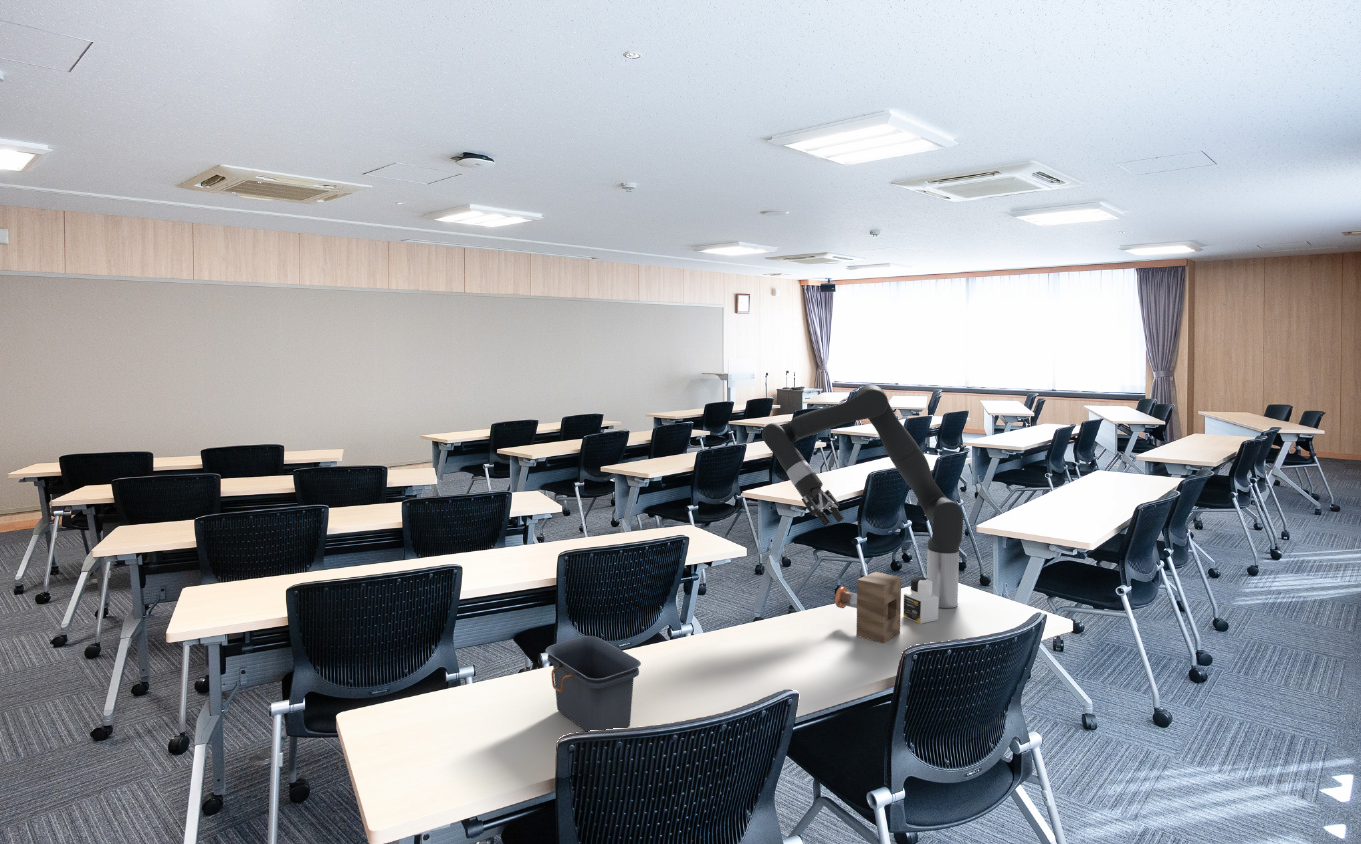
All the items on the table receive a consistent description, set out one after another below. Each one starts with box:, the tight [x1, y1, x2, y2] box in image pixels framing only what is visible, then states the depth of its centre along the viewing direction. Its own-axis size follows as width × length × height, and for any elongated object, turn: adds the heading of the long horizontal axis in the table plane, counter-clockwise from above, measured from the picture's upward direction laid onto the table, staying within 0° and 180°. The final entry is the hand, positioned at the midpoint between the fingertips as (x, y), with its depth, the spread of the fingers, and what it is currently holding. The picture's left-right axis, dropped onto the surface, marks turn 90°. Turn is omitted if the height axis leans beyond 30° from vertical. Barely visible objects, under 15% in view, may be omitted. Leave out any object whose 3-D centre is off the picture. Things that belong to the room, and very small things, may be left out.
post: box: [855, 571, 902, 644], centre depth 207 cm, size 10×8×16 cm
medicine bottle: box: [902, 576, 939, 625], centre depth 220 cm, size 7×7×12 cm
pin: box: [834, 586, 857, 609], centre depth 211 cm, size 6×13×6 cm, turn 47°
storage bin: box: [545, 635, 642, 732], centre depth 158 cm, size 21×16×14 cm
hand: (834, 522), depth 223 cm, fingers open, 8 cm apart
